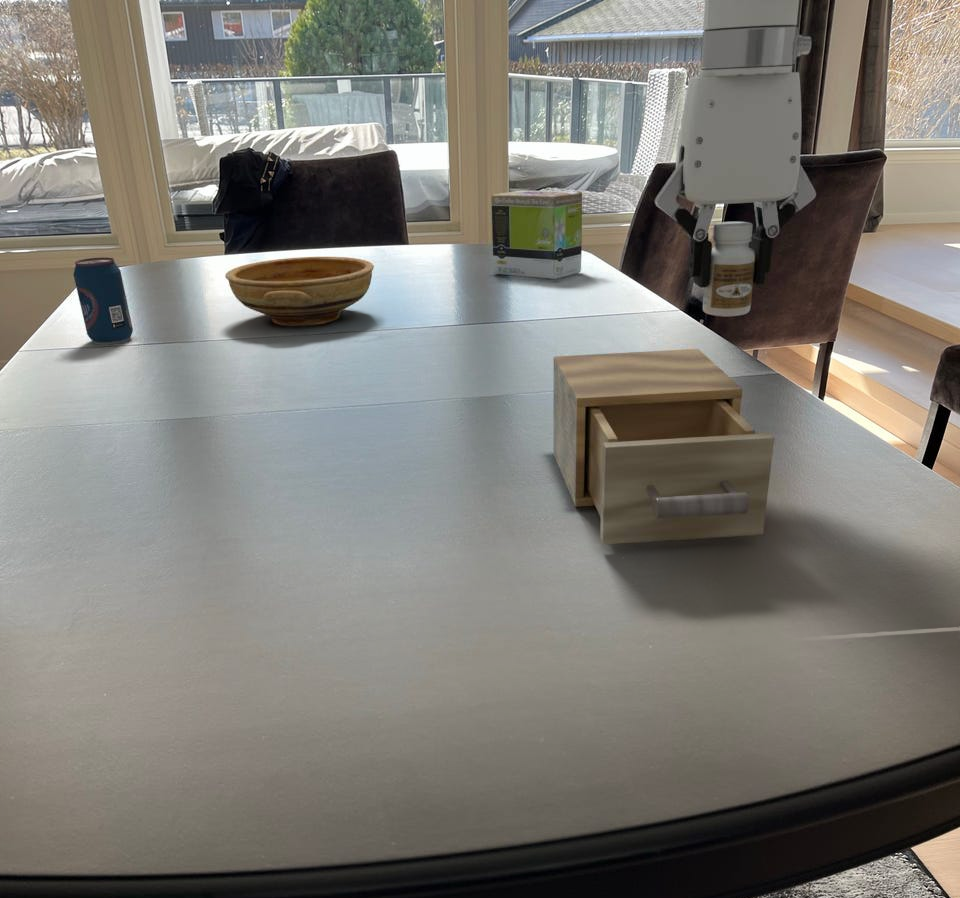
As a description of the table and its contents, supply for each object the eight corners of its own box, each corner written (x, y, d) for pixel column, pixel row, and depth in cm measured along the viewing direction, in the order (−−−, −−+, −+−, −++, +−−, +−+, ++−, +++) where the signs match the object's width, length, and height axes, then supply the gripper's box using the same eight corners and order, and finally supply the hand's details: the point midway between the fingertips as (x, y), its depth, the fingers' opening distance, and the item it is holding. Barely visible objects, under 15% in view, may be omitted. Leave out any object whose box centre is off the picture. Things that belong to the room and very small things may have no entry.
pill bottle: (714, 319, 90) (721, 228, 86) (694, 309, 93) (700, 222, 90) (758, 314, 90) (767, 225, 87) (737, 305, 94) (745, 219, 90)
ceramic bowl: (255, 302, 178) (249, 255, 174) (388, 298, 176) (384, 251, 172) (210, 341, 152) (201, 287, 148) (365, 337, 151) (360, 283, 147)
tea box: (582, 272, 192) (584, 190, 185) (553, 281, 185) (554, 196, 178) (521, 266, 200) (520, 187, 193) (491, 274, 194) (489, 193, 186)
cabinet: (731, 497, 90) (742, 388, 85) (575, 507, 89) (576, 398, 84) (690, 445, 103) (698, 348, 98) (553, 453, 102) (553, 356, 97)
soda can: (81, 341, 155) (62, 261, 149) (121, 333, 159) (104, 255, 153) (102, 347, 151) (83, 265, 145) (142, 339, 155) (126, 259, 149)
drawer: (782, 559, 76) (796, 458, 72) (613, 570, 76) (617, 468, 72) (716, 476, 92) (724, 389, 88) (576, 485, 92) (577, 398, 87)
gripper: (830, 51, 85) (803, 272, 94) (638, 60, 85) (630, 281, 94) (864, 49, 79) (832, 286, 88) (656, 59, 78) (646, 296, 87)
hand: (728, 281), depth 91 cm, fingers closed on pill bottle, 4 cm apart
